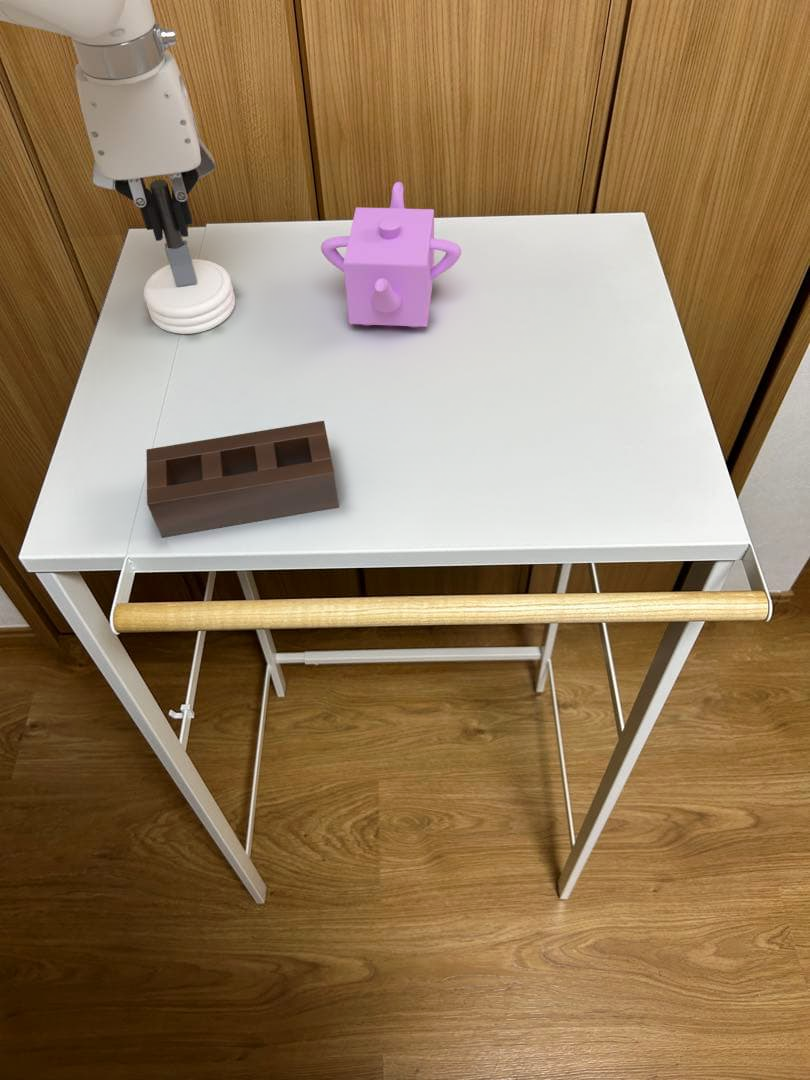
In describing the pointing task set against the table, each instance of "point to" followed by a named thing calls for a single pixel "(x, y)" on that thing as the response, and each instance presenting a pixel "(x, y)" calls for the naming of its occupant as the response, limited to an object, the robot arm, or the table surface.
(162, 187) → the grey handled tool
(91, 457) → the table surface
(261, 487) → the utensil block
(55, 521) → the table surface
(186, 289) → the white round stack
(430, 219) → the teapot
